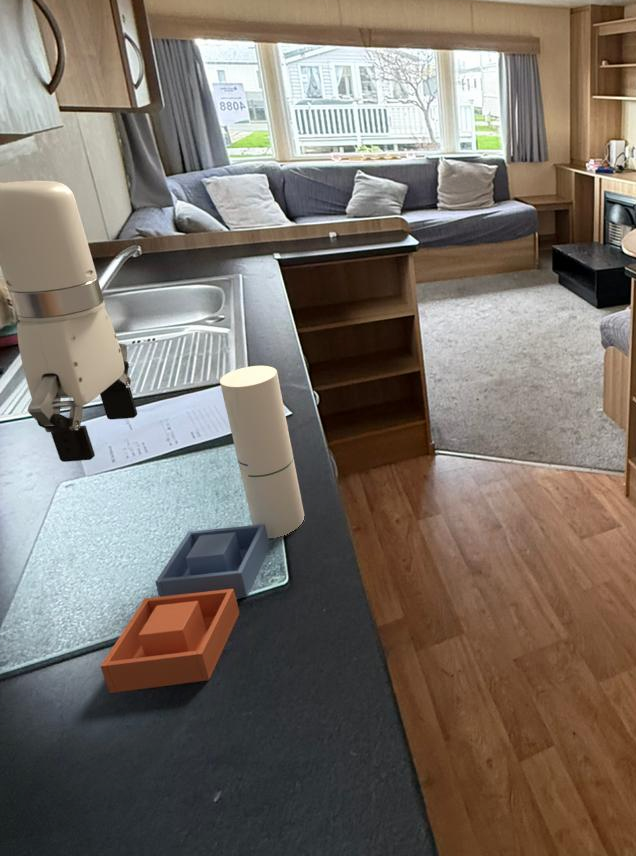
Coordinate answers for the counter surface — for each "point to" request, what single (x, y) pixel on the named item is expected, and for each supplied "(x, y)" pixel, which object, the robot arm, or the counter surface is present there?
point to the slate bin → (252, 553)
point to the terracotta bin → (139, 672)
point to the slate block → (214, 554)
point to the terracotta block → (173, 629)
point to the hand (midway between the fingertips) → (101, 437)
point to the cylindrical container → (263, 448)
